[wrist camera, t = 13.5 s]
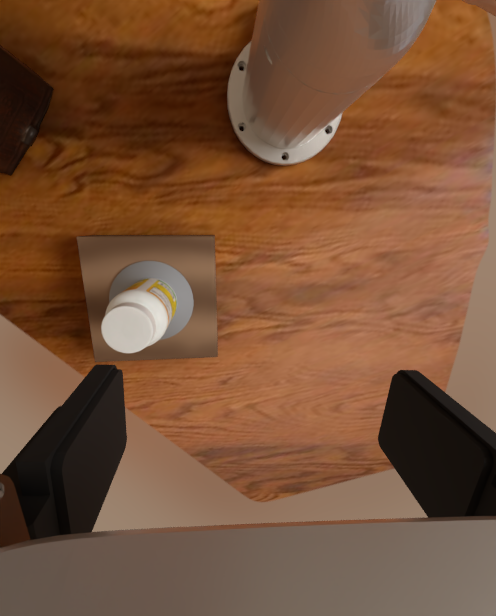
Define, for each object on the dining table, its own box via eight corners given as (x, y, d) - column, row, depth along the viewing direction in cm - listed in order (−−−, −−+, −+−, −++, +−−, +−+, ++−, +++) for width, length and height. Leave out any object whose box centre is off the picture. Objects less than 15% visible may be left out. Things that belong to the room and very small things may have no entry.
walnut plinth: (92, 235, 34) (75, 236, 30) (214, 235, 36) (214, 236, 32) (107, 348, 38) (94, 362, 34) (217, 344, 40) (217, 358, 35)
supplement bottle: (180, 282, 33) (166, 304, 23) (174, 328, 34) (158, 366, 25) (129, 272, 32) (94, 291, 23) (124, 320, 33) (89, 356, 24)
